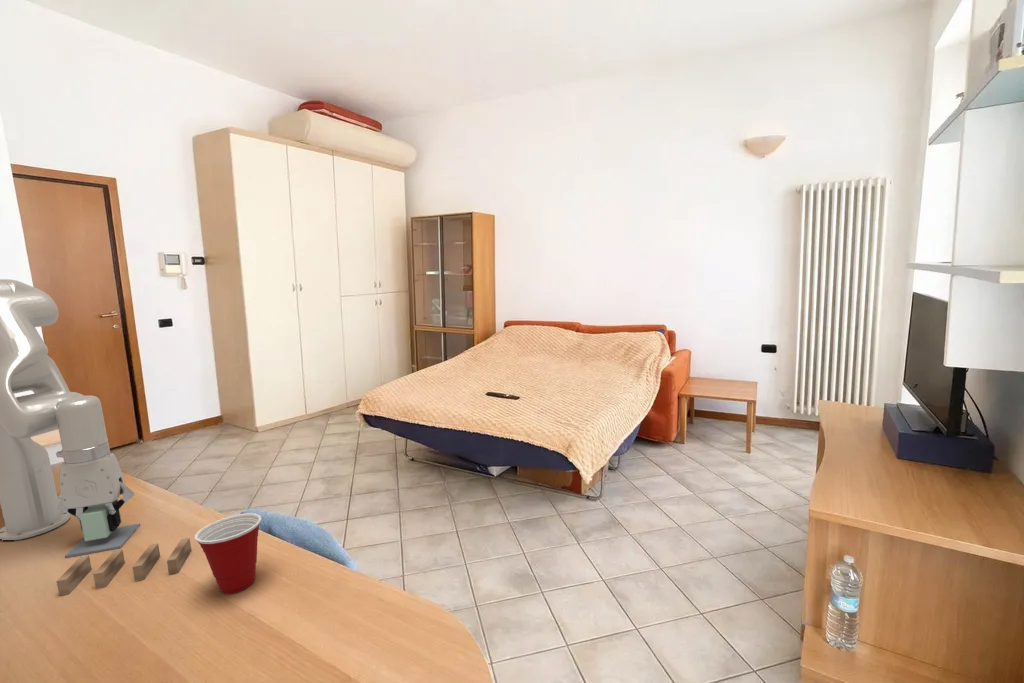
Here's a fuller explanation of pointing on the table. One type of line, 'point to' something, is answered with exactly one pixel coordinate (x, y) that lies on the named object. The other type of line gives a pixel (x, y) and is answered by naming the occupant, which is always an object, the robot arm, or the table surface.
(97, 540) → the pad
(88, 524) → the block
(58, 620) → the table surface
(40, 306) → the robot arm
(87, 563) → the rack
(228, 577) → the plastic cup
